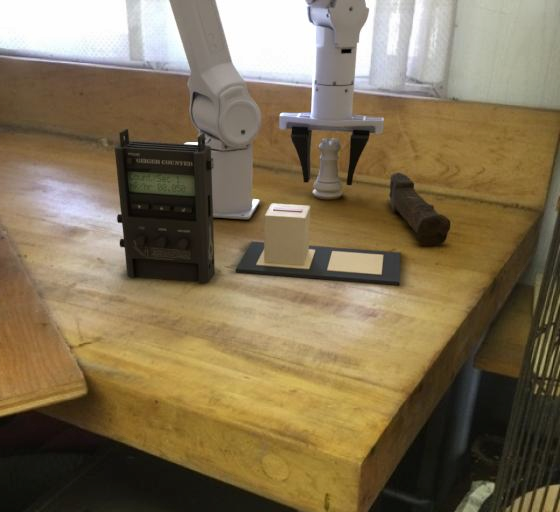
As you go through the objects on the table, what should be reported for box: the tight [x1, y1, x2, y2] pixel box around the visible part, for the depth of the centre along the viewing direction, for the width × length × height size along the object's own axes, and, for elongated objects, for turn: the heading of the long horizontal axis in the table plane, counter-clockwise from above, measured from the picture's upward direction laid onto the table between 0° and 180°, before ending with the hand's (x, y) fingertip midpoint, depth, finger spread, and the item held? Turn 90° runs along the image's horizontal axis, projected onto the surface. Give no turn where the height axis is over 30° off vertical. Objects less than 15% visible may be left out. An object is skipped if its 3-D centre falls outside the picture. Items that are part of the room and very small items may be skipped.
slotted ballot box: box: [263, 202, 311, 265], centre depth 79 cm, size 4×4×6 cm
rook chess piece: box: [312, 137, 343, 200], centre depth 101 cm, size 4×4×8 cm
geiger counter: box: [114, 128, 216, 285], centre depth 72 cm, size 10×5×15 cm, turn 80°
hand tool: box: [389, 172, 451, 247], centre depth 92 cm, size 19×4×5 cm, turn 5°
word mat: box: [235, 241, 402, 286], centre depth 80 cm, size 18×9×1 cm, turn 81°
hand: (328, 182), depth 102 cm, fingers open, 6 cm apart
